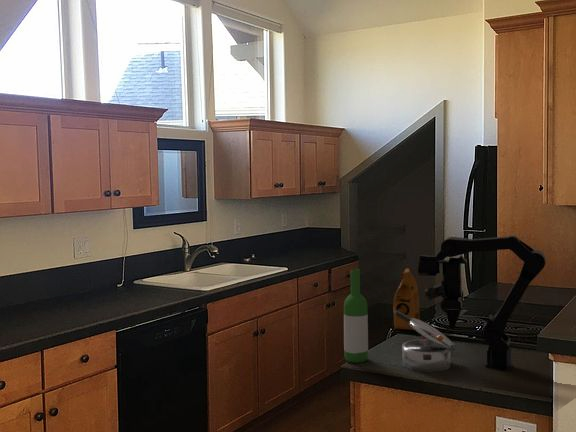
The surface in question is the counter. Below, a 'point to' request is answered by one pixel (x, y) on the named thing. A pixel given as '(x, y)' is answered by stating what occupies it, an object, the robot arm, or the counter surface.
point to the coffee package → (406, 300)
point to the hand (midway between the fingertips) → (453, 325)
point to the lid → (427, 331)
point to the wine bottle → (355, 323)
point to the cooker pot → (425, 356)
